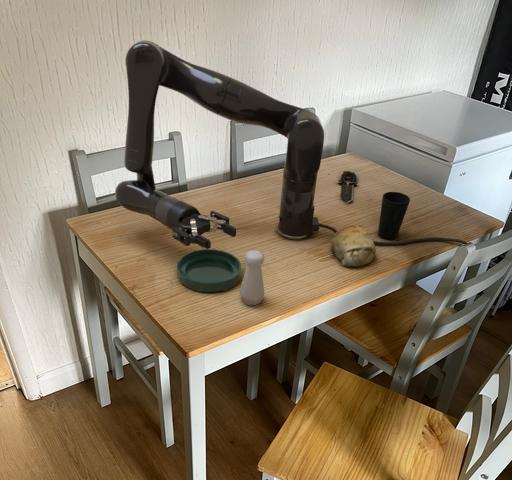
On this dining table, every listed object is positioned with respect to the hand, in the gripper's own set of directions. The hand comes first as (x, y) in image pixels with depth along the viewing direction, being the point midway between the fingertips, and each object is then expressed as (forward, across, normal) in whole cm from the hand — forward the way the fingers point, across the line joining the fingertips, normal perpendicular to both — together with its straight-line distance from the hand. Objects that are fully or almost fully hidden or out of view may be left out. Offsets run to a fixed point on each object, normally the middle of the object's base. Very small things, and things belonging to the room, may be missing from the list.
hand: (222, 238), depth 127 cm
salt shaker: (+10, 0, +12) cm, 16 cm away
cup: (+15, +54, +13) cm, 57 cm away
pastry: (+15, +36, +13) cm, 41 cm away
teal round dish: (-4, 0, +12) cm, 13 cm away
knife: (-11, +72, +13) cm, 74 cm away
